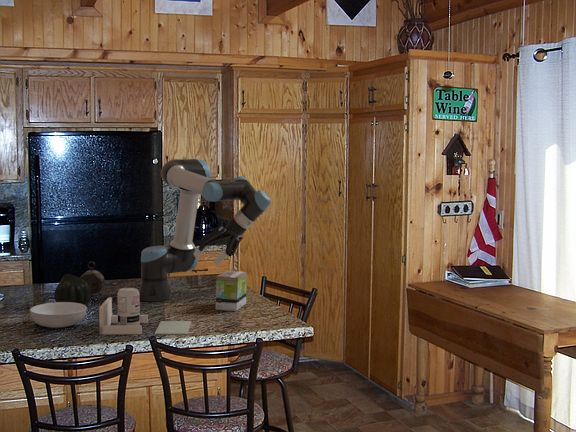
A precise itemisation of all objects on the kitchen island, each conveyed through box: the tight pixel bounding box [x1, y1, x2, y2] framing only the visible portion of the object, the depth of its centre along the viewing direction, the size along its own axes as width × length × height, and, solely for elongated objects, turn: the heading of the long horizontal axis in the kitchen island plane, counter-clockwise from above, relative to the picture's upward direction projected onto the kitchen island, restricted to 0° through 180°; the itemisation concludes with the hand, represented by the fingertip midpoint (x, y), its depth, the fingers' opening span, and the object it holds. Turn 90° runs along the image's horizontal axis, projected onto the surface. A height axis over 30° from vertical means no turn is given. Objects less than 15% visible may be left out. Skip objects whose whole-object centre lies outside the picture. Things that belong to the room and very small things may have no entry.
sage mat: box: [154, 320, 192, 335], centre depth 272 cm, size 12×18×1 cm, turn 3°
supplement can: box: [117, 287, 141, 326], centre depth 270 cm, size 8×8×15 cm
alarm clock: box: [79, 261, 106, 297], centre depth 324 cm, size 11×5×16 cm, turn 84°
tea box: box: [215, 270, 248, 312], centre depth 307 cm, size 15×10×15 cm, turn 168°
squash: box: [53, 273, 92, 306], centre depth 304 cm, size 14×15×15 cm
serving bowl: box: [29, 301, 88, 329], centre depth 274 cm, size 21×21×7 cm
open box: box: [98, 297, 149, 335], centre depth 270 cm, size 15×17×10 cm
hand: (205, 260), depth 288 cm, fingers open, 13 cm apart
